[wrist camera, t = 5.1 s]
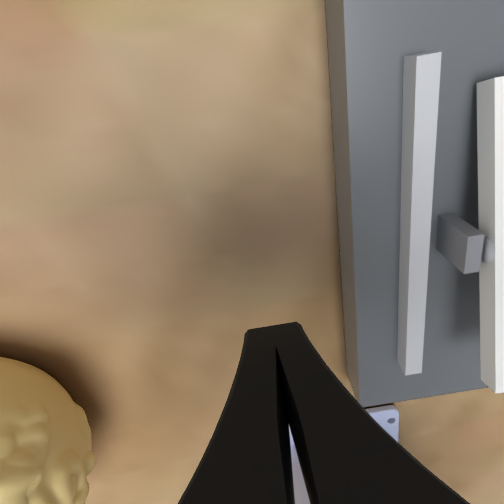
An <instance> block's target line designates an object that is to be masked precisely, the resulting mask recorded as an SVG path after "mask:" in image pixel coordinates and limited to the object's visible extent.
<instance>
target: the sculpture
mask: <svg viewBox="0 0 504 504" xmlns="http://www.w3.org/2000/svg"><path fill="white" fill-rule="evenodd" d="M95 461H96V460H95V455H94V453H93V452H92V436H91V429H90V426H89V424H88V421H87V417H86V414H85V412H84V410H83V408H82V407H80V406H79V405H77V404H76V403H75V402H74V401H73V400H72V398H71V397H70V395H69V394H68V393H67V391H66V390H65V389H64V388H63V387H62V386H61V385H60V384H59V383H58V382H57V381H56V380H55V379H54V378H53V377H51V376H50V375H49V374H47V373H46V372H44V371H42V370H40V369H38V368H36V367H34V366H32V365H29V364H27V363H24V362H21V361H17V360H13V359H9V358H4V357H0V504H85V501H86V498H87V495H88V492H89V484H88V481H87V479H86V475H88V474H89V473H90V472H91V471H92V469H93V468H94V465H95Z"/></svg>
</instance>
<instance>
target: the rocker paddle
mask: <svg viewBox="0 0 504 504" xmlns="http://www.w3.org/2000/svg"><path fill="white" fill-rule="evenodd" d="M477 151H478V221H479V231H481V232H482V233H484V234H485V235H484V242H483V249H482V257H481V264H480V272H479V291H480V361H481V380H482V381H483V382H484V383H485V384H486V385H487V386H488V387H489V388H490V389H491V390H492V391H493V392H494V393H495V394H496V393H502V392H504V76H502V77H496V78H492V79H489V80H485V81H482V82H478V83H477Z"/></svg>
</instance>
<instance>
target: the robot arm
mask: <svg viewBox="0 0 504 504" xmlns="http://www.w3.org/2000/svg"><path fill="white" fill-rule="evenodd" d="M398 432H399V412H398V410H397V408H396V407H395V406H393V405H388V406H382V407H375V408H369V409H364V408H363V407H362V406H361V405H360V404H359V403H358V402H357V400H356V399H355V398H354V397H353V396H352V395H351V394H350V393H349V391H348V390H347V389H346V388H345V387H344V386H343V384H342V383H341V382H340V381H339V380H338V378H337V377H336V376H335V375H334V373H333V372H332V371H331V370H330V368H329V367H328V366H327V365H326V363H325V362H324V361H323V359H322V358H321V356H320V355H319V354H318V352H317V351H316V349H315V348H314V346H313V345H312V343H311V342H310V340H309V339H308V337H307V335H306V334H305V332H304V330H303V328H302V326H301V325H300V324H299V323H297V322H292V323H286V324H280V325H274V326H268V327H262V328H255V329H249V330H248V331H247V332H246V333H245V337H244V344H243V349H242V353H241V358H240V361H239V365H238V368H237V372H236V375H235V378H234V381H233V384H232V387H231V390H230V393H229V396H228V399H227V401H226V404H225V407H224V409H223V411H222V414H221V416H220V419H219V421H218V424H217V426H216V429H215V431H214V433H213V436H212V438H211V440H210V442H209V445H208V447H207V449H206V451H205V453H204V455H203V457H202V459H201V461H200V463H199V465H198V467H197V469H196V471H195V473H194V475H193V477H192V479H191V481H190V483H189V484H188V486H187V488H186V490H185V492H184V493H183V495H182V497H181V499H180V501H179V502H178V504H470V503H468V502H467V501H466V500H465V499H464V498H462V497H461V496H460V495H459V494H457V493H456V492H455V491H454V490H452V489H451V488H450V487H449V486H448V485H446V484H445V483H444V482H443V481H441V480H440V479H439V478H438V477H436V476H435V475H434V474H433V473H432V472H430V471H429V470H428V469H427V468H426V467H424V466H423V465H422V464H421V463H420V462H419V461H418V460H417V459H415V458H414V457H413V456H412V455H411V454H410V453H409V452H408V451H407V450H405V449H404V448H403V447H402V446H401V445H400V444H399V443H398Z"/></svg>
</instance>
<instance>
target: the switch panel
mask: <svg viewBox="0 0 504 504" xmlns="http://www.w3.org/2000/svg"><path fill="white" fill-rule="evenodd" d="M325 11H326V28H327V44H328V61H329V78H330V95H331V112H332V129H333V146H334V162H335V179H336V196H337V213H338V230H339V247H340V263H341V280H342V297H343V314H344V331H345V348H346V365H347V375H348V378H349V381H350V383H351V386H352V388H353V391H354V394H355V396H356V399H357V402H358V403H359V404H360V405H361V406H362V407H369V406H375V405H381V404H387V403H394V402H400V401H406V400H412V399H419V398H425V397H431V396H437V395H443V394H450V393H456V392H462V391H468V390H474V389H481V388H487V387H488V386H487V385H486V384H485V383H484V382H483V381H482V380H481V361H480V291H479V272H480V264H481V257H482V249H483V242H484V235H485V234H484V233H482V232H481V231H479V221H478V151H477V83H478V82H482V81H485V80H489V79H492V78H496V77H502V76H504V0H325Z"/></svg>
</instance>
